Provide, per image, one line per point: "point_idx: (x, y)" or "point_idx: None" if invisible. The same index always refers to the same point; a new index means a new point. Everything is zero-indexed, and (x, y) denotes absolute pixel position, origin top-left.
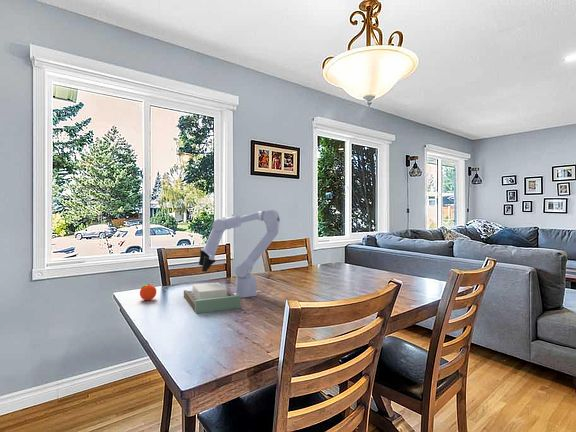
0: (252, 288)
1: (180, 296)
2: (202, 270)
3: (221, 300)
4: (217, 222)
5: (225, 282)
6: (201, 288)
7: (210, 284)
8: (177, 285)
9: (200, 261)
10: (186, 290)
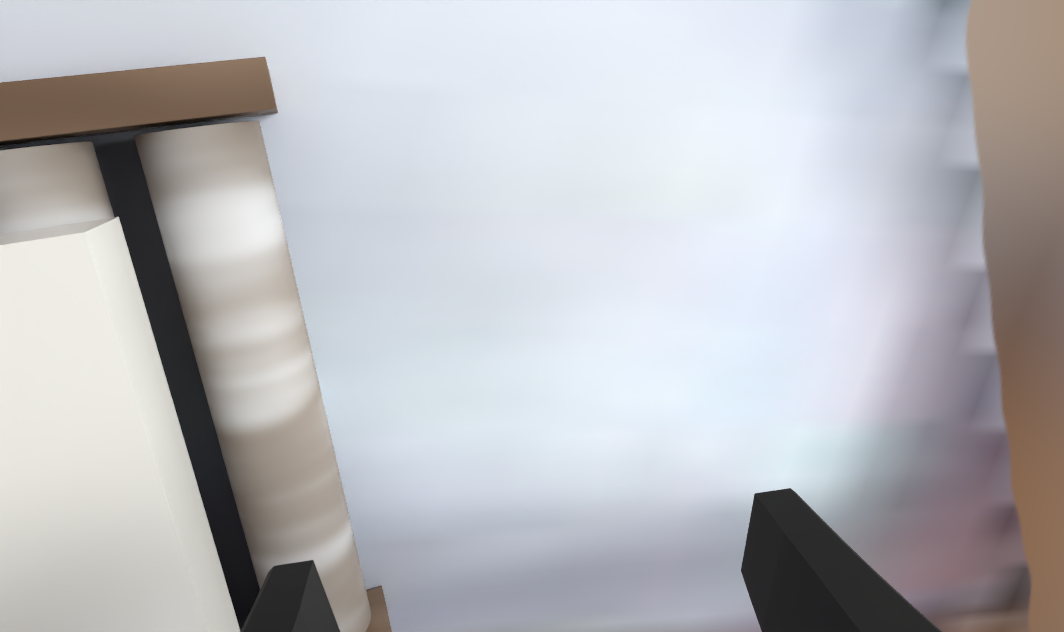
0: None
1: (301, 17)
2: (267, 581)
3: None
4: None
5: None
6: None
7: (53, 600)
8: (927, 28)
9: (808, 590)
10: (241, 107)
